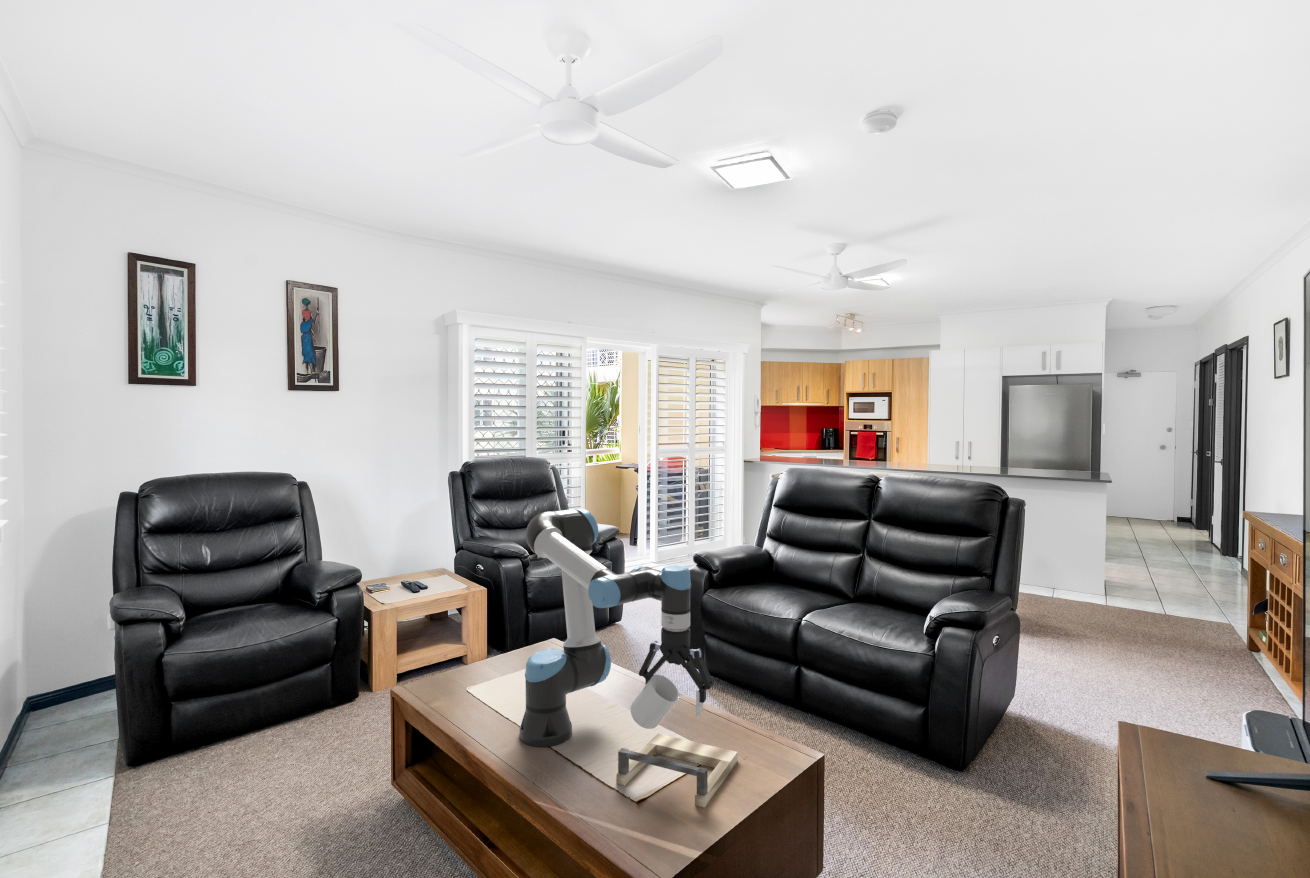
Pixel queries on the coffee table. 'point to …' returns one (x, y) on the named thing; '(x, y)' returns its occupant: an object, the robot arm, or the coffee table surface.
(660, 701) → the mug
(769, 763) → the coffee table surface
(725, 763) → the beige and grey frame
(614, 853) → the coffee table surface
